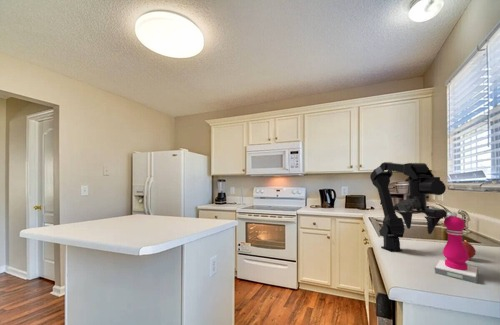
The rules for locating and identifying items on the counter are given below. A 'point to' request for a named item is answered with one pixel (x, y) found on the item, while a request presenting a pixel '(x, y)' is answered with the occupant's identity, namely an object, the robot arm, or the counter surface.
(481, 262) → the counter surface
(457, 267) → the pepper mill
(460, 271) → the kitchen scale
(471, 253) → the onion
